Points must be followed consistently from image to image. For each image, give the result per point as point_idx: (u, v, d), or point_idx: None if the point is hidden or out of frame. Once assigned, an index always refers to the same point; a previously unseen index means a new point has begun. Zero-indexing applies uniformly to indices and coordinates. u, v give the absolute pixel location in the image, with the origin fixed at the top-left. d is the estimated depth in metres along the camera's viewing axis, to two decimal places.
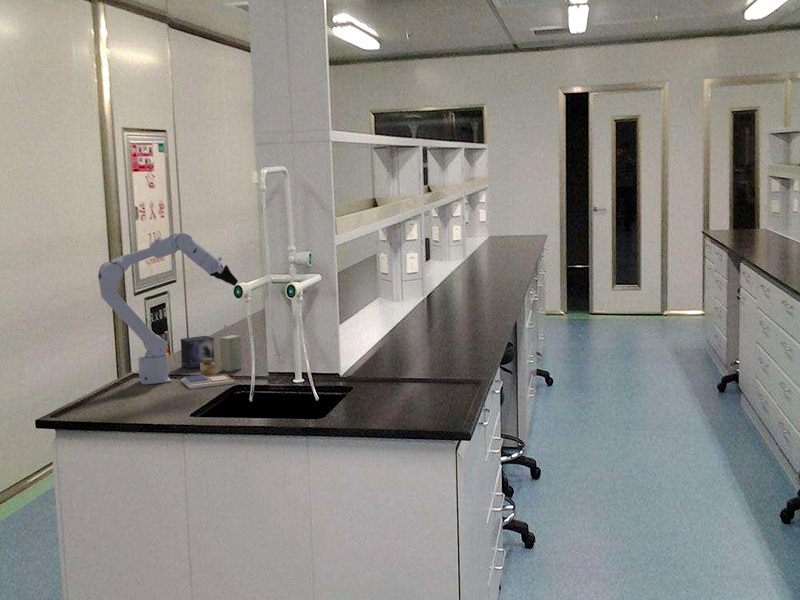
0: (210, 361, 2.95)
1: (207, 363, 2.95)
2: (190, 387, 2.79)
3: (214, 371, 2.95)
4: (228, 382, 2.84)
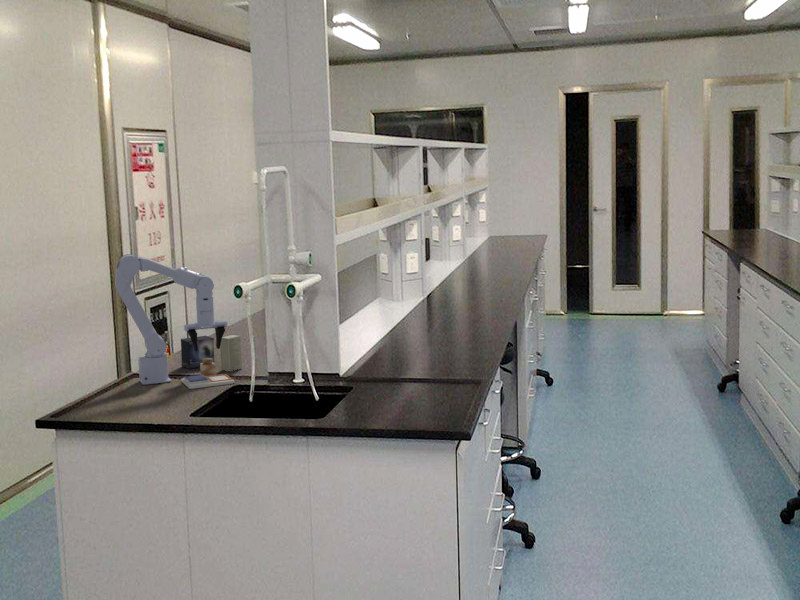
0: (210, 361, 2.95)
1: (207, 363, 2.95)
2: (190, 387, 2.79)
3: (214, 371, 2.95)
4: (228, 382, 2.84)
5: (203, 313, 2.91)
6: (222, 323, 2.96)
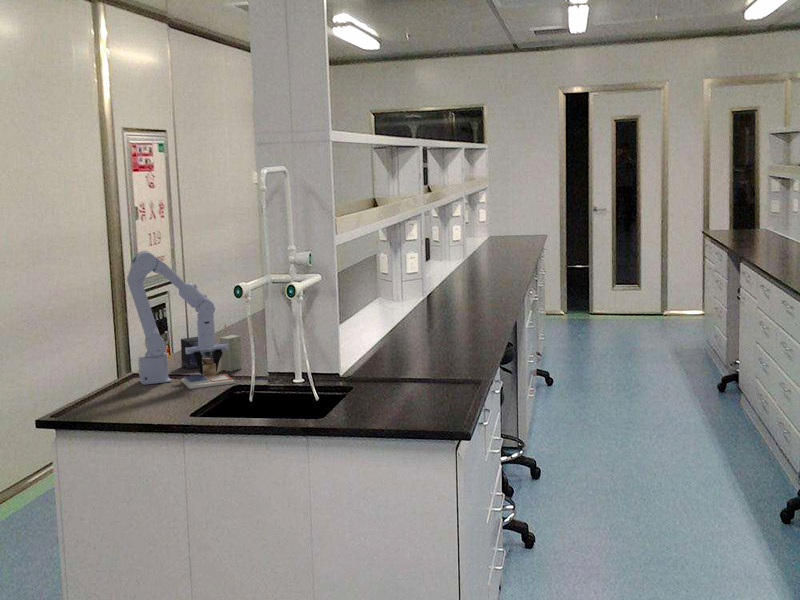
0: (210, 361, 2.95)
1: (207, 363, 2.95)
2: (190, 387, 2.79)
3: (214, 371, 2.95)
4: (228, 382, 2.84)
5: (204, 336, 2.92)
6: (223, 346, 2.97)
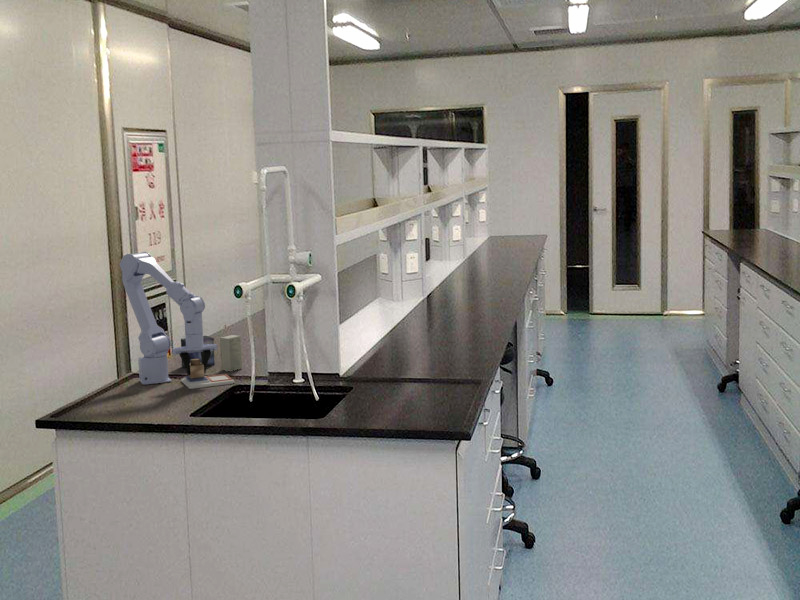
0: (198, 362, 2.84)
1: (195, 364, 2.83)
2: (190, 387, 2.79)
3: (202, 372, 2.84)
4: (228, 382, 2.84)
5: (192, 336, 2.81)
6: (212, 346, 2.85)
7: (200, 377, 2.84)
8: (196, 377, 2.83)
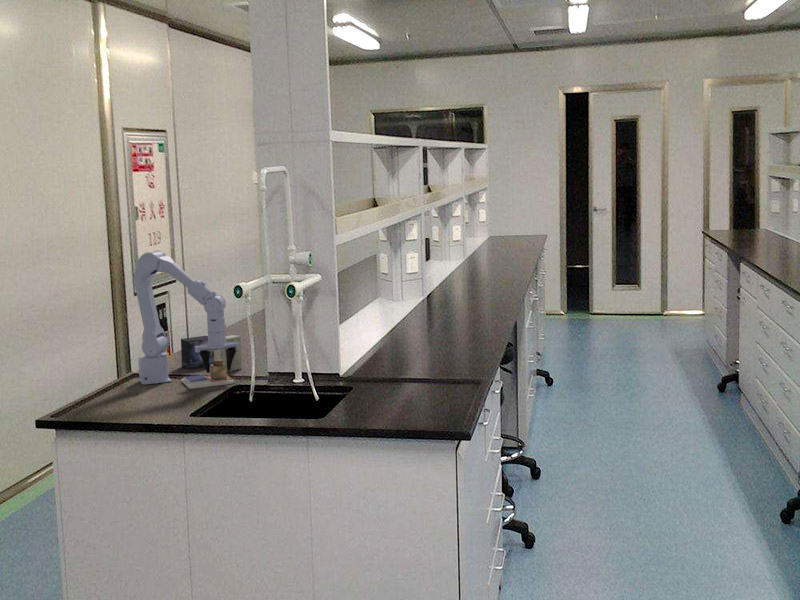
0: (220, 362, 2.87)
1: (217, 364, 2.86)
2: (190, 387, 2.79)
3: (225, 373, 2.87)
4: (228, 382, 2.84)
5: (214, 334, 2.84)
6: (234, 344, 2.89)
7: (223, 377, 2.87)
8: (219, 377, 2.86)
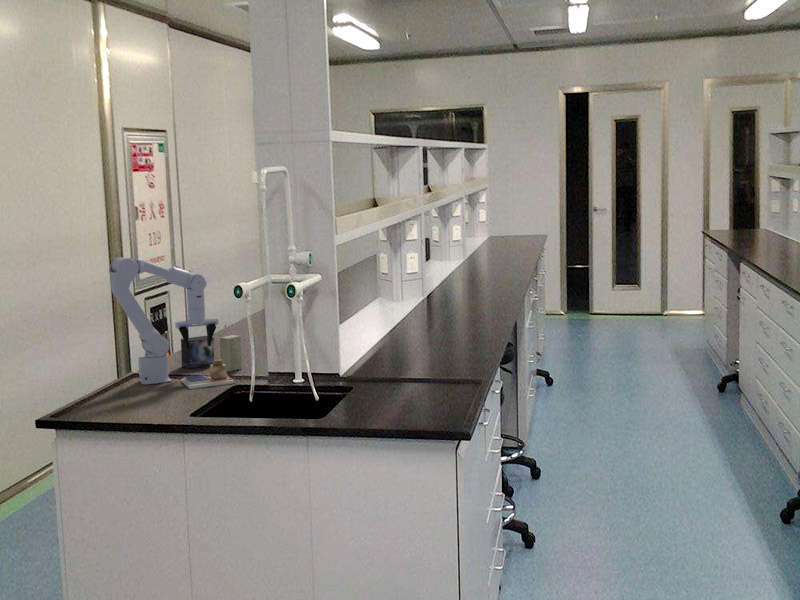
0: (220, 362, 2.87)
1: (217, 364, 2.86)
2: (190, 387, 2.79)
3: (225, 373, 2.87)
4: (228, 382, 2.84)
5: (194, 311, 2.94)
6: (213, 320, 2.99)
7: (223, 377, 2.87)
8: (219, 377, 2.86)
